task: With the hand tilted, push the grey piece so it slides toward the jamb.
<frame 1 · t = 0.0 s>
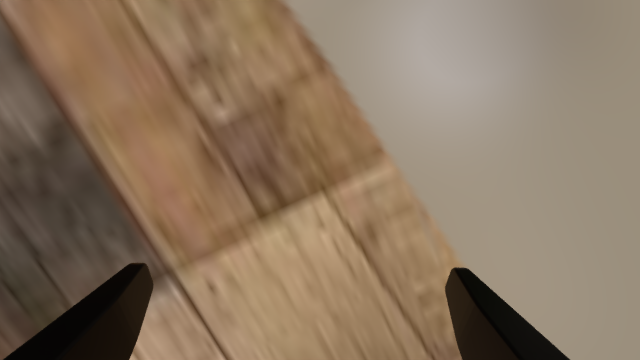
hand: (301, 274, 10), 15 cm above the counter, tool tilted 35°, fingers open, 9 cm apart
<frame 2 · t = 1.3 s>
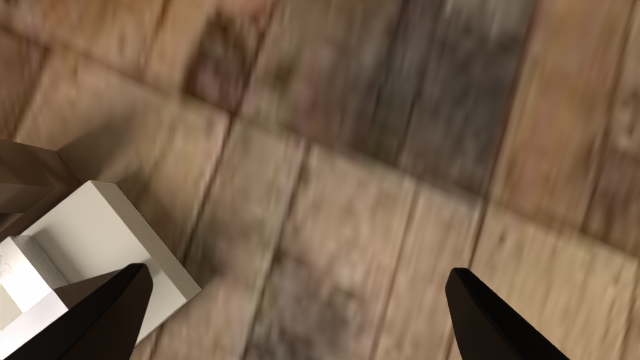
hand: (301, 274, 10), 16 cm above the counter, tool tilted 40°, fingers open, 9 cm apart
grey piece: (1, 304, 18), point 7 cm above the counter, slide at 0.0 cm
door block: (55, 240, 25), on the counter
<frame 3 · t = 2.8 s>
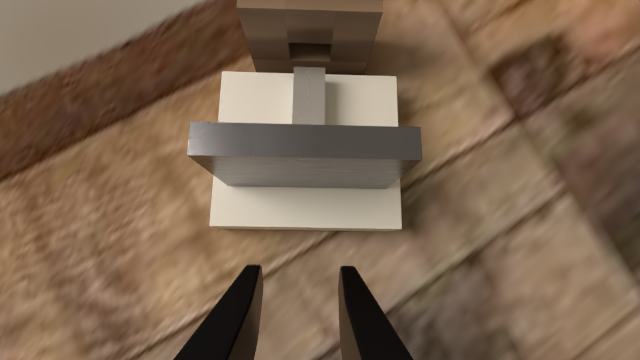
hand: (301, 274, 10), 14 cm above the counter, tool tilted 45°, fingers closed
grey piece: (308, 109, 18), point 7 cm above the counter, slide at 0.0 cm
door block: (309, 99, 26), on the counter
jamb: (310, 25, 22), on the counter
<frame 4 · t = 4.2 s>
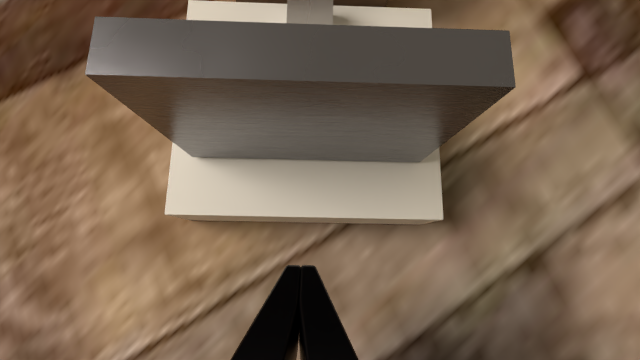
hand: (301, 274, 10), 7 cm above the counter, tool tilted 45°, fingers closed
grey piece: (308, 33, 12), point 7 cm above the counter, slide at 0.0 cm
door block: (310, 49, 19), on the counter
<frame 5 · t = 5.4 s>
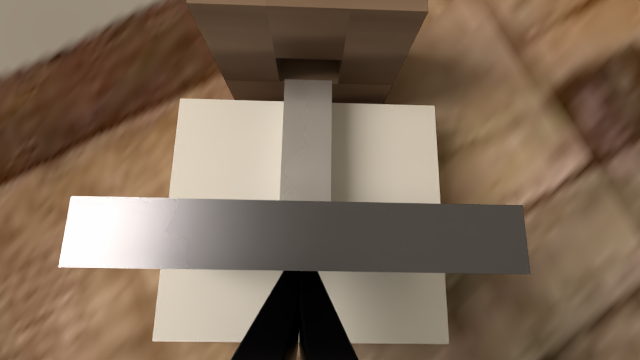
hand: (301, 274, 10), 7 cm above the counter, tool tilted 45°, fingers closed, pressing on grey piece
grey piece: (305, 150, 11), point 7 cm above the counter, slide at 0.7 cm, touching gripper
door block: (308, 134, 18), on the counter
jamb: (309, 32, 15), on the counter
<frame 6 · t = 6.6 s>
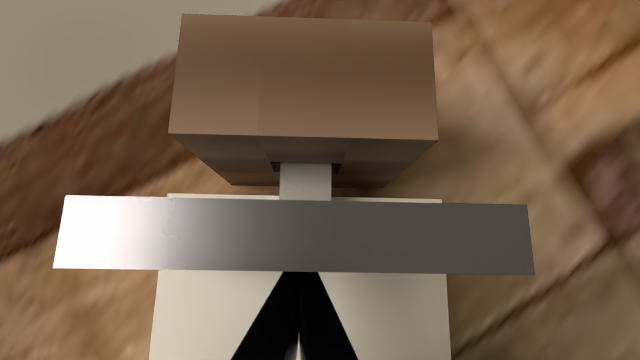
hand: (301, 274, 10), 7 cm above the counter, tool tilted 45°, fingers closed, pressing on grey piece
grey piece: (305, 148, 11), point 7 cm above the counter, slide at 5.3 cm, touching gripper
door block: (306, 214, 17), on the counter
jamb: (307, 123, 14), on the counter
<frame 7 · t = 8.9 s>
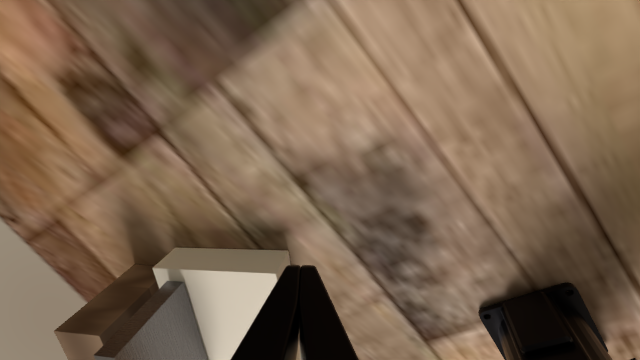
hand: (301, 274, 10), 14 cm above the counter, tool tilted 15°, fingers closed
door block: (196, 302, 31), on the counter
jamb: (134, 332, 28), on the counter
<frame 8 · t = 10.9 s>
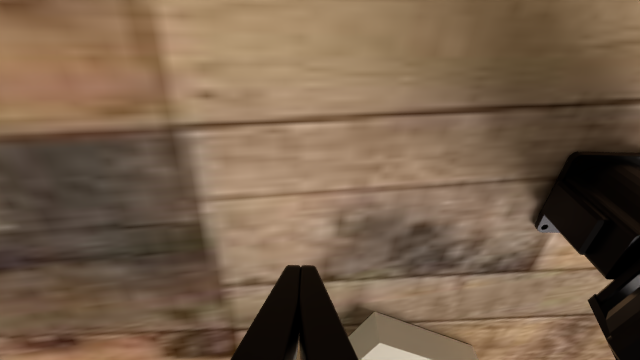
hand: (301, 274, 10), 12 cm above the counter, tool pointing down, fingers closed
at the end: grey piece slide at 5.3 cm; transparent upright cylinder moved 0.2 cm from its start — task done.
